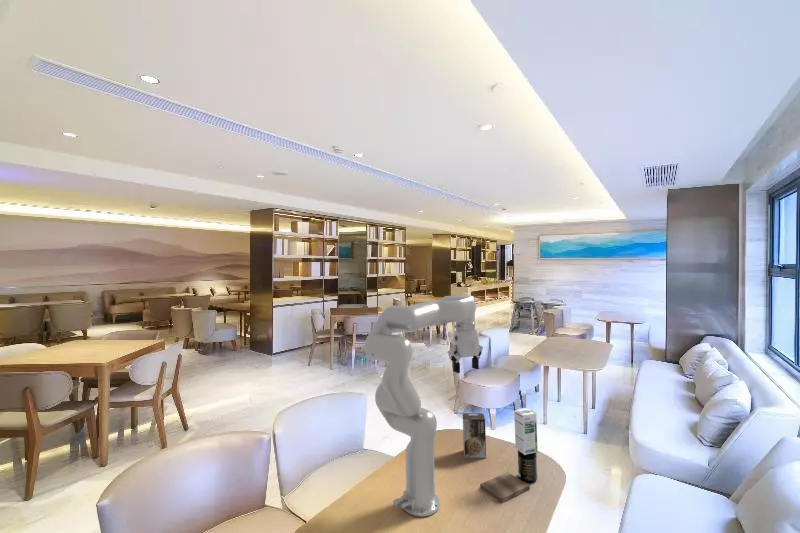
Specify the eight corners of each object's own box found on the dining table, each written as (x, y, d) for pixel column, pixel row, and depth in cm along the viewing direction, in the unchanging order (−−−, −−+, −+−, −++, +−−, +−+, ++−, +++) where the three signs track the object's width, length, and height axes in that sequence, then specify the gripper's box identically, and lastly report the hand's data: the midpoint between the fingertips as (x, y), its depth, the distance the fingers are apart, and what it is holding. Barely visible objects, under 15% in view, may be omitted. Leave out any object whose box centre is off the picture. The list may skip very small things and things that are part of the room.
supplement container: (540, 483, 131) (540, 454, 131) (523, 484, 130) (522, 455, 130) (531, 472, 138) (531, 445, 138) (514, 474, 137) (514, 446, 137)
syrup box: (524, 455, 131) (523, 415, 131) (514, 448, 136) (513, 409, 136) (537, 452, 132) (537, 413, 132) (527, 445, 138) (526, 407, 138)
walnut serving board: (501, 503, 120) (501, 498, 120) (480, 488, 128) (480, 483, 128) (529, 489, 127) (529, 485, 127) (507, 476, 136) (507, 472, 136)
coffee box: (484, 450, 155) (483, 413, 156) (486, 458, 149) (485, 419, 149) (463, 450, 156) (462, 412, 156) (464, 457, 150) (463, 418, 150)
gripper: (454, 330, 135) (455, 376, 134) (488, 326, 144) (489, 369, 143) (442, 327, 141) (442, 371, 141) (475, 323, 150) (475, 365, 150)
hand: (466, 370), depth 142 cm, fingers open, 9 cm apart
